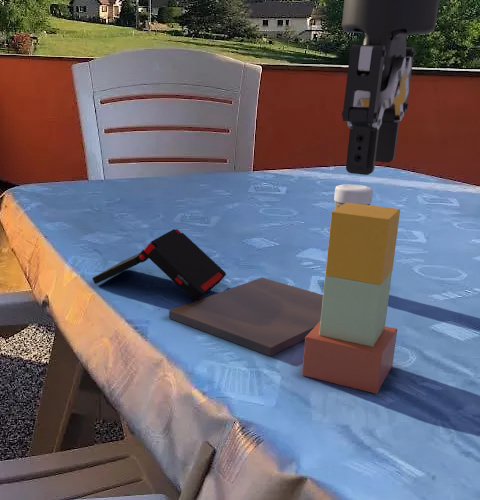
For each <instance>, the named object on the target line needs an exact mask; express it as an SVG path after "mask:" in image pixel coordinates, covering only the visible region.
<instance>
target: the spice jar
mask: <svg viewBox="0 0 480 500" xmlns="http://www.w3.org/2000/svg"><path fill="white" fill-rule="evenodd" d="M373 194H374V190H373V188H372V187H370V186H367V185H361V184H338V185H336V186H335V189H334V196H333V200H334V210H336V209H337V208H339V207H340V206H342V205H343V204H344V203H346V202H348V203H356V204H364V205H372V202H373Z"/></svg>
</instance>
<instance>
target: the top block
mask: <svg viewBox="0 0 480 500" xmlns="http://www.w3.org/2000/svg"><path fill="white" fill-rule="evenodd" d="M400 214H401V208H397V207H396V208H395V207H387V206H380V205H372V204H370V205H364V204H356V203H348V202H346V203H344V204H343V205H342V206H340V207H339V208H337V209H336V210H335V209H334V210H332V211H331V215H330V225H329V226H330V227H329V236H328V246H327V255H326V265H325V275H327V276H333V277H339V278H344V279H350V280H356V281H361V282H367V283H373V284H378V285H381V284H382V283H383V282H384V280H385V279H386V278H387V277H388V275H389V274H390V273H391V272H392V273H393V270H394V269H393V268H394V262H395V253H396V247H397V239H398V238H397V237H398V230H399V223H400Z"/></svg>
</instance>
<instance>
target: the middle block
mask: <svg viewBox="0 0 480 500" xmlns="http://www.w3.org/2000/svg"><path fill="white" fill-rule="evenodd" d="M392 275H393V271H392V272H391V273H390V274H389V275H388V277H387V278H386V279H385V280H384V282H383V283H382V284H381V285H378V284H373V283H367V282H361V281H356V280H350V279H344V278H339V277H333V276H327V275H326V274H325V275H324V283H323V293H322V295H323V302H322V312H321V322H320V332H319V335H320V336H325V337H329V338H334V339H338V340H343V341H348V342H352V343H357V344H361V345H366V346H370V347H373V346H374V345H375V343H376V341H377V340H378V338H379V337H380V335H381V334H382V332H383V331H384V329H385V326H386V321H387V313H388V308H389V307H388V306H389V298H390V292H391V291H390V290H391V281H392Z"/></svg>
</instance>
